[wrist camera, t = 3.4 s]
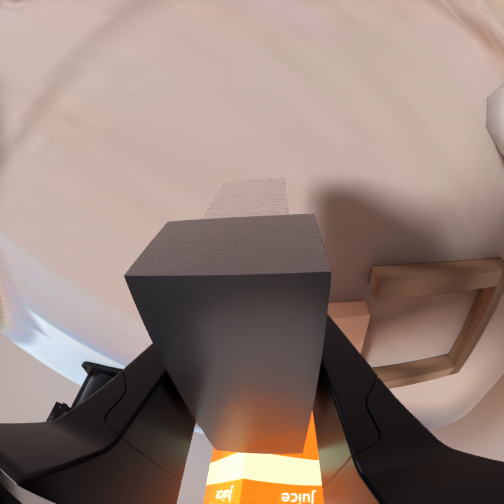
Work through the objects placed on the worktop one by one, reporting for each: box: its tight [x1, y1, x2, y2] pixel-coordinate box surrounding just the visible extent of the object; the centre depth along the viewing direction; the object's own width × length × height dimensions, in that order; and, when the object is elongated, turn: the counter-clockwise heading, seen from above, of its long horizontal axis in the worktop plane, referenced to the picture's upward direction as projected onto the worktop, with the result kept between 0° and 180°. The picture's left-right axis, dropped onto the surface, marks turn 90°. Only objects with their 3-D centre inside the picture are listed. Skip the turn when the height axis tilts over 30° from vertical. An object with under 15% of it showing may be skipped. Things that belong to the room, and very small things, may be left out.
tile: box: [327, 301, 370, 354], centre depth 17 cm, size 6×6×2 cm
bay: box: [370, 258, 504, 389], centre depth 16 cm, size 11×11×2 cm
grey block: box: [124, 179, 331, 454], centre depth 8 cm, size 3×8×6 cm, turn 5°
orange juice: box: [204, 412, 324, 504], centre depth 15 cm, size 8×9×20 cm
